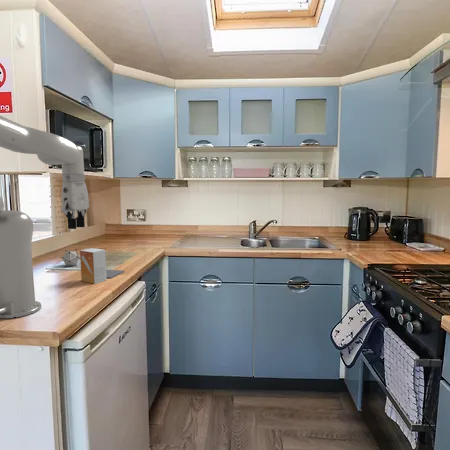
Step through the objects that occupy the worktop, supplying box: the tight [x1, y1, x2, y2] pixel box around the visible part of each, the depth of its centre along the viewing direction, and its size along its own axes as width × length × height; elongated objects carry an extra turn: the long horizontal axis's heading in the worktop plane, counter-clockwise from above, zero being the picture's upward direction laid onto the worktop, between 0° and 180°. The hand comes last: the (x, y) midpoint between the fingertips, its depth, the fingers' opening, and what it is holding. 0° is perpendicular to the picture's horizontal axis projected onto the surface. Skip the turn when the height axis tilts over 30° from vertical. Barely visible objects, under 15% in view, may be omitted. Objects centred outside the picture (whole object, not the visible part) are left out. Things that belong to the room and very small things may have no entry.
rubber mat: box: [106, 269, 125, 279], centre depth 147 cm, size 11×10×1 cm
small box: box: [79, 247, 108, 285], centre depth 137 cm, size 8×6×13 cm
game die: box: [60, 249, 80, 267], centre depth 164 cm, size 9×8×10 cm
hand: (76, 227), depth 126 cm, fingers open, 4 cm apart
